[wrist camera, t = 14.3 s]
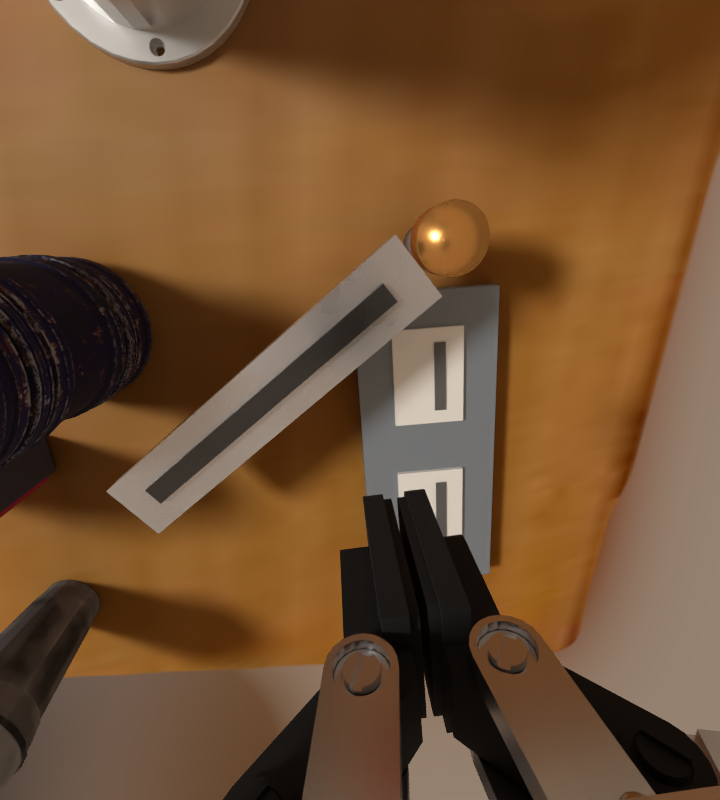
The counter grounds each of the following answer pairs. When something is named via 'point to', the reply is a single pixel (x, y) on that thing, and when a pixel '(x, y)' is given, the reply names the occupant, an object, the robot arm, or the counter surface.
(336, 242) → the counter surface
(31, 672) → the beverage cup
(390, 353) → the label board
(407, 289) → the swing arm
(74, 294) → the blue oil drum
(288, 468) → the counter surface
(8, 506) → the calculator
